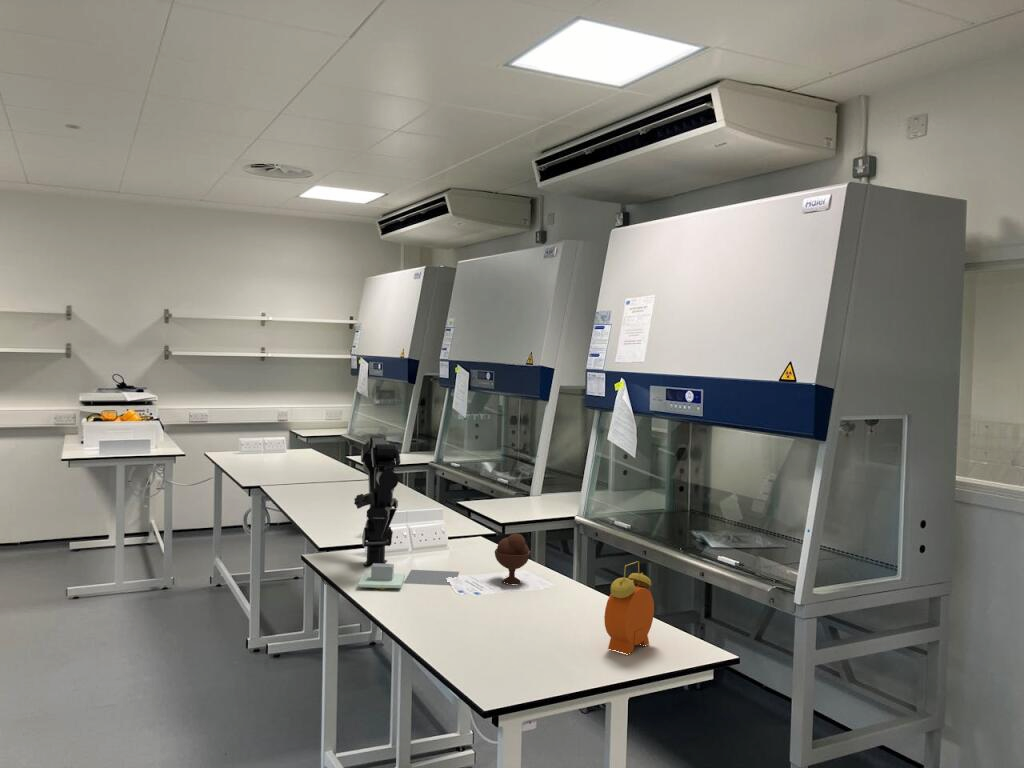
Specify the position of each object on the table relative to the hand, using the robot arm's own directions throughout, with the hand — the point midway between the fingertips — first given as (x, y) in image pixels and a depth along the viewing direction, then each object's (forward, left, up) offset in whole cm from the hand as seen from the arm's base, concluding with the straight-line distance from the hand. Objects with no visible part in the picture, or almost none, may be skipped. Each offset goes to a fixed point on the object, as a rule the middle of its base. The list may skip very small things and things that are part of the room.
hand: (381, 535), depth 240 cm
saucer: (+12, +3, -13) cm, 18 cm away
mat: (+2, +16, -12) cm, 20 cm away
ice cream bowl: (+2, +40, -12) cm, 42 cm away
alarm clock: (+52, +69, -12) cm, 87 cm away
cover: (+12, +3, -11) cm, 16 cm away
